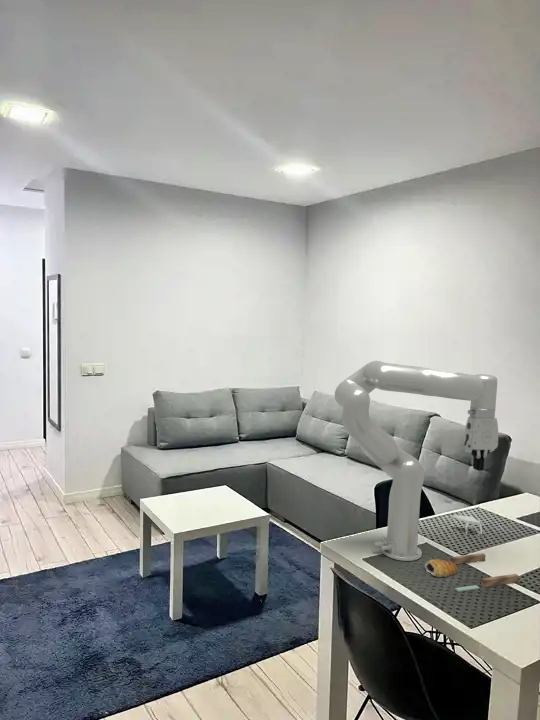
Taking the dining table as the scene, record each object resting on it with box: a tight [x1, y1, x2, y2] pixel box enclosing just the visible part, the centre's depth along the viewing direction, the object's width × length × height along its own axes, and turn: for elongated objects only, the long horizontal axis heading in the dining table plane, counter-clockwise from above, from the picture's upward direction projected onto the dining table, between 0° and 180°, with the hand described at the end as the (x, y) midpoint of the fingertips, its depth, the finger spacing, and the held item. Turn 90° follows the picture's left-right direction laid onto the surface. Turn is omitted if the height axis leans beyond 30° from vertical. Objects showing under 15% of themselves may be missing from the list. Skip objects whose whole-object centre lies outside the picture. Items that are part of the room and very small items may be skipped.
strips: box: [424, 563, 480, 593], centre depth 165 cm, size 7×16×1 cm, turn 19°
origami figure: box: [448, 514, 483, 537], centre depth 201 cm, size 12×8×5 cm
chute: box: [449, 552, 520, 588], centre depth 168 cm, size 12×15×2 cm
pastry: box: [424, 558, 458, 578], centre depth 168 cm, size 9×7×4 cm
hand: (478, 469), depth 182 cm, fingers closed
